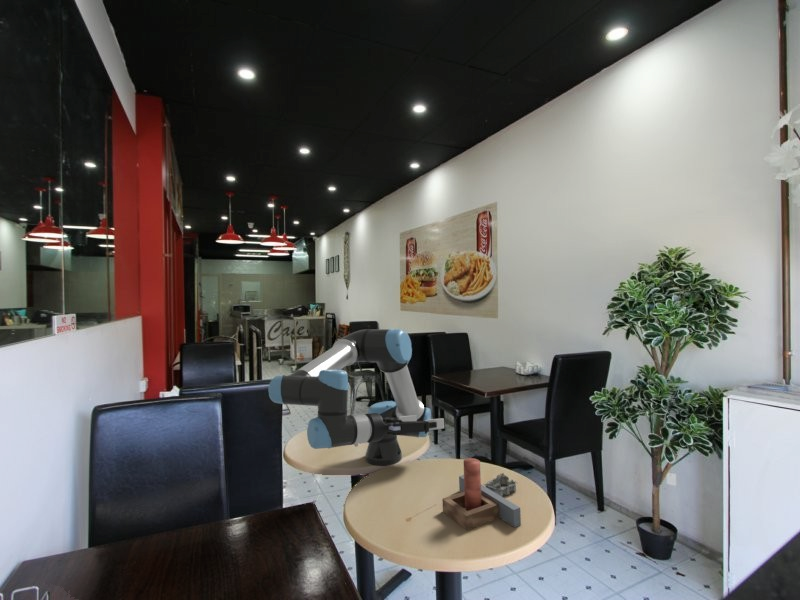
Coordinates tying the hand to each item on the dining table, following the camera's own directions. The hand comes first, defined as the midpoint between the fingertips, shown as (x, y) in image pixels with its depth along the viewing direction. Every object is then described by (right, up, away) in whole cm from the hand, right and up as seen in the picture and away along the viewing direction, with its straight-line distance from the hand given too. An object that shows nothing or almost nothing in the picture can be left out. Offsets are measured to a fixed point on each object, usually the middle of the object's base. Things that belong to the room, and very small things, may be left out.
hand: (429, 421), depth 118 cm
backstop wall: (+19, -29, +8) cm, 36 cm away
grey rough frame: (+26, -30, +17) cm, 43 cm away
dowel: (+14, -29, +4) cm, 33 cm away
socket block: (+13, -29, +3) cm, 32 cm away
